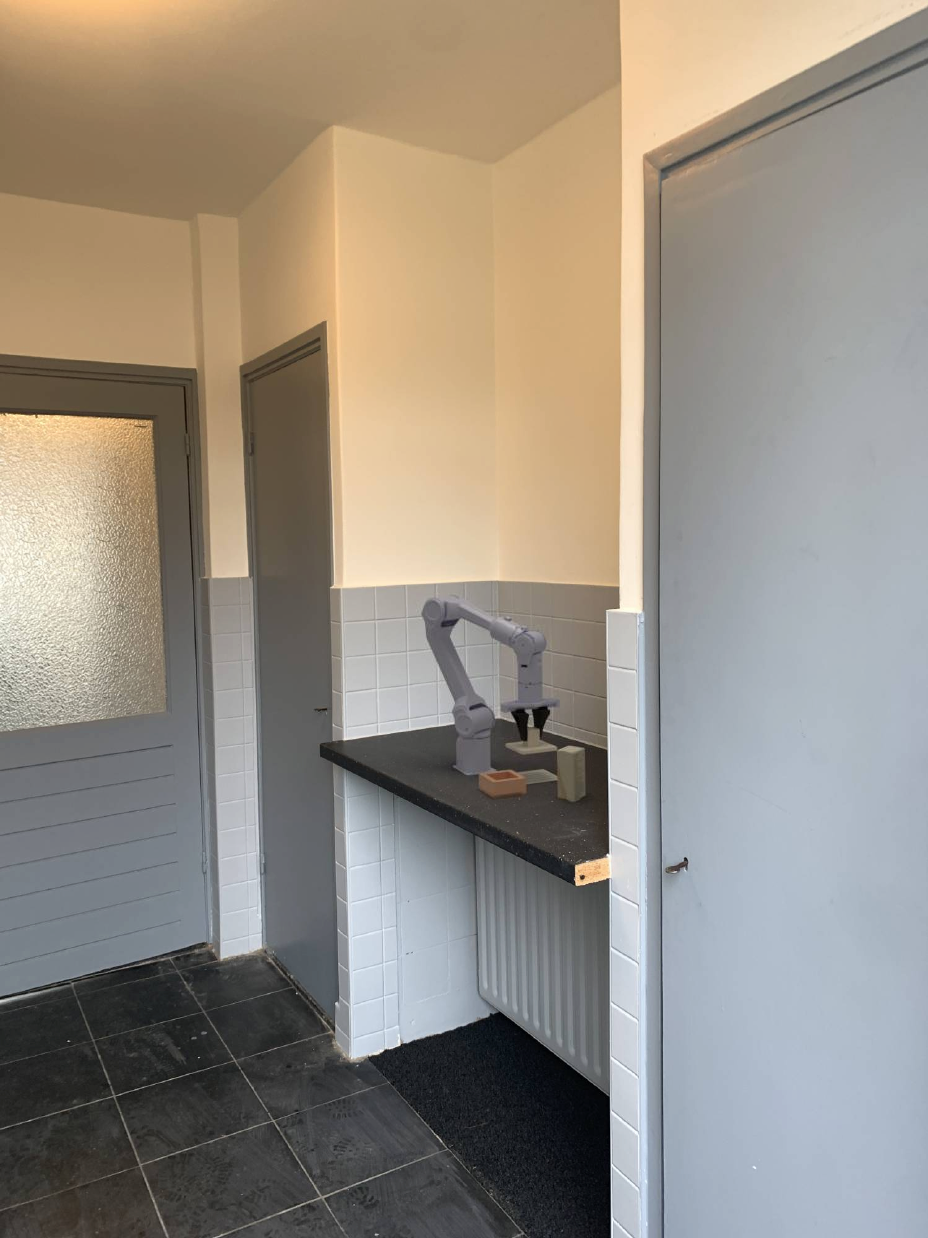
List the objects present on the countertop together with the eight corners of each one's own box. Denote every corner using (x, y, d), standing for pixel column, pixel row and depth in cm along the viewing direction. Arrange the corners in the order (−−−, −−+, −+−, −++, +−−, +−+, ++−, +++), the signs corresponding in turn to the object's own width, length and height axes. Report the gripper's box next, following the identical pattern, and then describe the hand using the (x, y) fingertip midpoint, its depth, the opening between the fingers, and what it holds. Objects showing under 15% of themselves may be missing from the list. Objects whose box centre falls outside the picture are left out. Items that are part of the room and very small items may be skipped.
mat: (506, 775, 216) (506, 774, 216) (543, 770, 220) (543, 769, 220) (524, 786, 207) (524, 784, 207) (563, 780, 211) (563, 779, 211)
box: (569, 793, 200) (569, 745, 199) (586, 797, 198) (586, 747, 197) (556, 799, 196) (556, 749, 195) (573, 803, 194) (572, 752, 192)
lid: (505, 746, 214) (505, 727, 213) (539, 742, 217) (538, 723, 217) (522, 754, 206) (522, 734, 205) (557, 750, 209) (557, 730, 209)
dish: (479, 791, 204) (478, 773, 203) (511, 786, 207) (510, 769, 206) (493, 800, 196) (493, 782, 196) (526, 795, 199) (526, 778, 199)
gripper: (509, 687, 204) (510, 746, 205) (565, 682, 209) (566, 739, 211) (496, 683, 210) (497, 740, 211) (551, 678, 216) (551, 734, 217)
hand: (530, 739), depth 211 cm, fingers closed on lid, 3 cm apart
